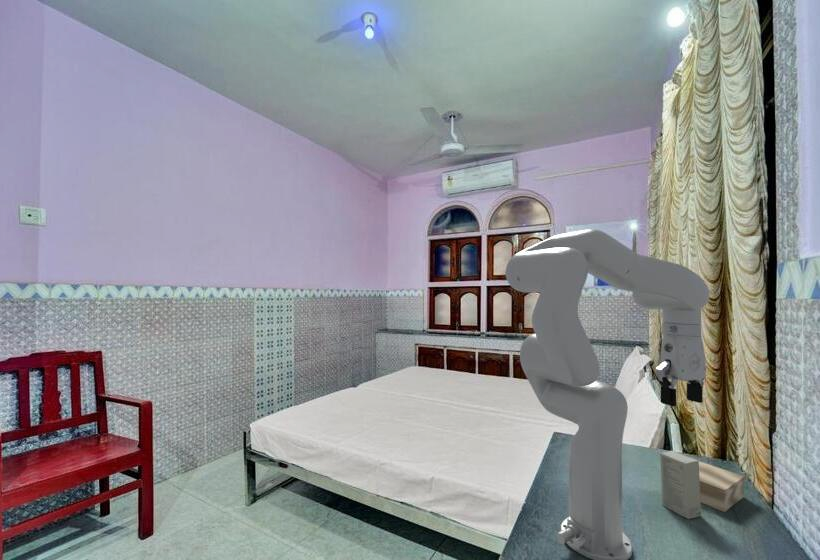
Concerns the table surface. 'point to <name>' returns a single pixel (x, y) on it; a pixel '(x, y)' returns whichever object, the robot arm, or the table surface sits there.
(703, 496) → the birch trinket box
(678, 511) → the skincare box
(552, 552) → the table surface
